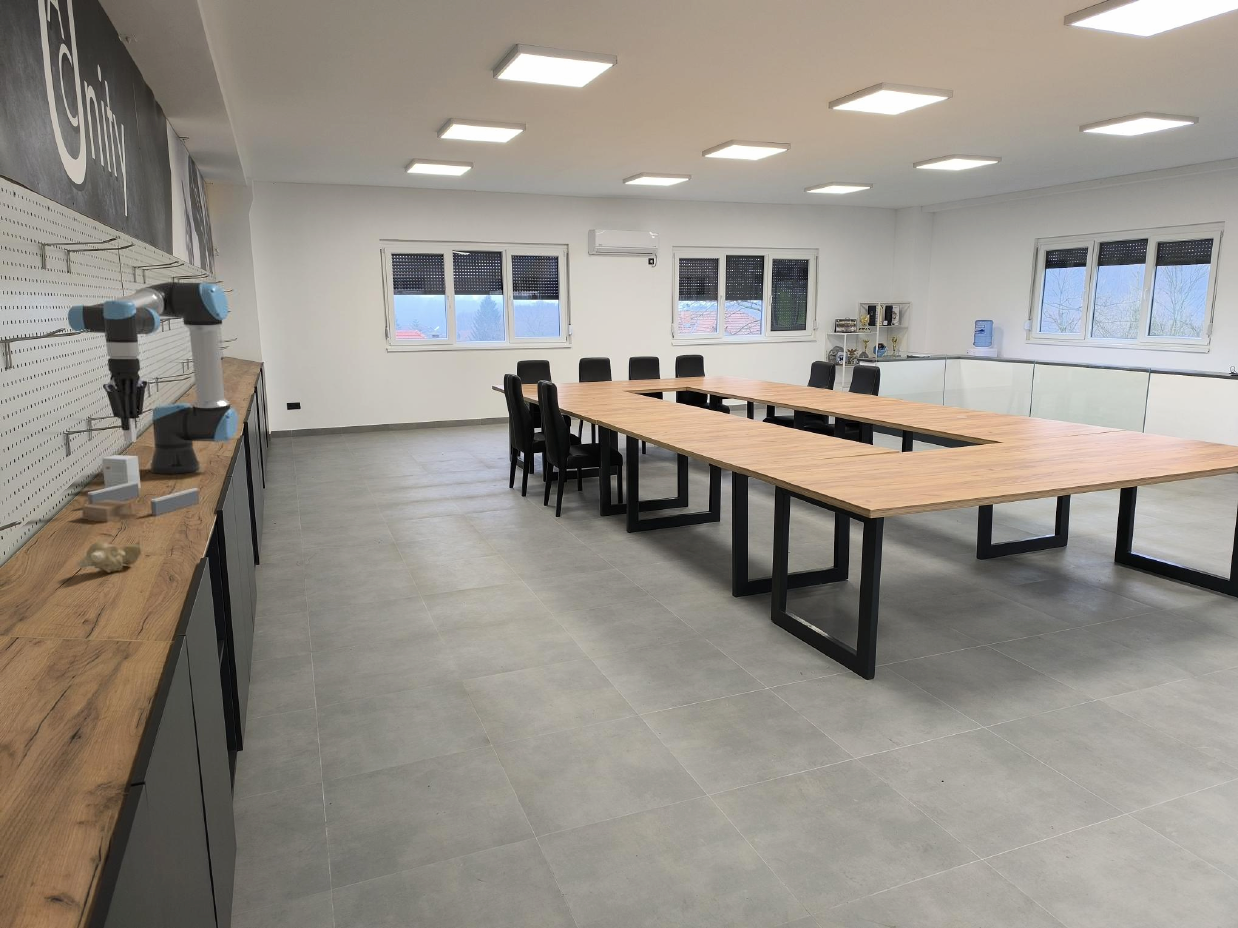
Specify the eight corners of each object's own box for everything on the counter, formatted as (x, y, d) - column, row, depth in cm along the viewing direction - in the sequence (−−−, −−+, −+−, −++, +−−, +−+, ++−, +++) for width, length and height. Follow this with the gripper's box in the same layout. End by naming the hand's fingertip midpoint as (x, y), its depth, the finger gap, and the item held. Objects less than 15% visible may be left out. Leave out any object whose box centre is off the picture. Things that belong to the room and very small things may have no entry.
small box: (141, 488, 253) (138, 456, 251) (128, 492, 248) (126, 459, 246) (117, 487, 254) (114, 454, 252) (104, 491, 248) (101, 457, 246)
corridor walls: (134, 495, 244) (133, 481, 243) (199, 503, 238) (198, 488, 237) (88, 507, 228) (87, 492, 228) (156, 516, 223) (155, 500, 222)
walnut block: (108, 513, 225) (107, 499, 224) (132, 516, 223) (130, 502, 222) (83, 520, 217) (82, 506, 216) (107, 523, 215) (106, 509, 214)
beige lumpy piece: (147, 539, 182) (96, 537, 171) (148, 570, 181) (97, 570, 170) (121, 544, 185) (69, 543, 174) (121, 575, 184) (70, 575, 173)
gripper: (131, 355, 229) (138, 436, 234) (92, 358, 217) (99, 443, 221) (153, 357, 227) (159, 438, 232) (114, 359, 215) (122, 446, 220)
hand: (130, 441), depth 227 cm, fingers closed
